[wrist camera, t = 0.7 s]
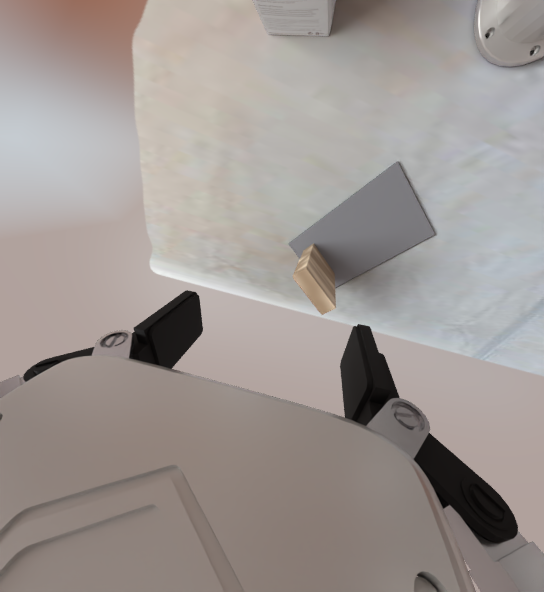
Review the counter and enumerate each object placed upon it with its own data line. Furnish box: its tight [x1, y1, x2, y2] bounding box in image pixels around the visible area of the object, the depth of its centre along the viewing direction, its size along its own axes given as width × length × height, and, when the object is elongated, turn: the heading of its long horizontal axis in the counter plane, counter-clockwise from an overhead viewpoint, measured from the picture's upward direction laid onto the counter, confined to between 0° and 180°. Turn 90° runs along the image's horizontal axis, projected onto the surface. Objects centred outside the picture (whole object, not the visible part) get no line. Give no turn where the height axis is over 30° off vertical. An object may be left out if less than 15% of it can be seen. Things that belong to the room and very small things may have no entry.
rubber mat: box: [289, 162, 435, 288], centre depth 38 cm, size 22×14×1 cm, turn 130°
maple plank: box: [293, 243, 336, 315], centre depth 36 cm, size 3×8×14 cm, turn 40°
